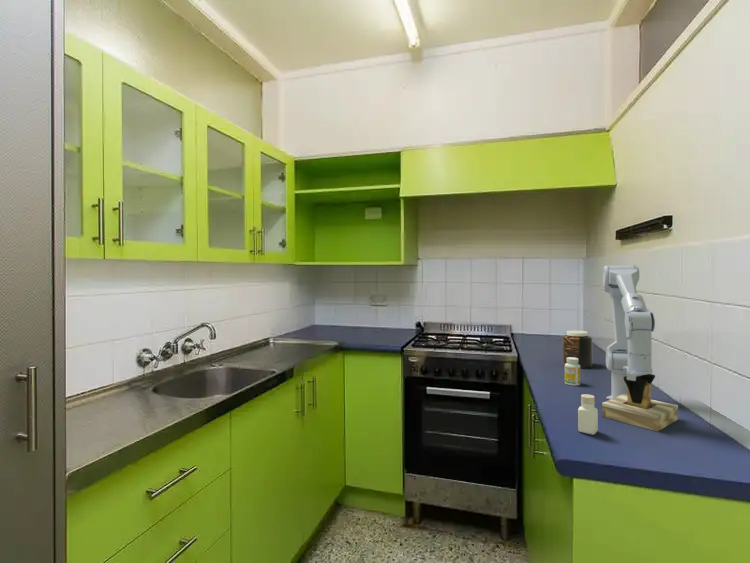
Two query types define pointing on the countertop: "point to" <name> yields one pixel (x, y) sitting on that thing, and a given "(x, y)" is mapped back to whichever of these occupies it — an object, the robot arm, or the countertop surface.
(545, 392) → the countertop surface
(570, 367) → the supplement bottle
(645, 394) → the ochre peg
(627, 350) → the robot arm
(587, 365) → the jar
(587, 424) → the pepper shaker
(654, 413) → the posting box
